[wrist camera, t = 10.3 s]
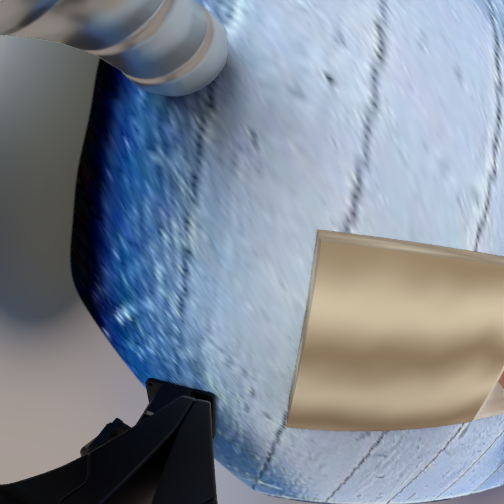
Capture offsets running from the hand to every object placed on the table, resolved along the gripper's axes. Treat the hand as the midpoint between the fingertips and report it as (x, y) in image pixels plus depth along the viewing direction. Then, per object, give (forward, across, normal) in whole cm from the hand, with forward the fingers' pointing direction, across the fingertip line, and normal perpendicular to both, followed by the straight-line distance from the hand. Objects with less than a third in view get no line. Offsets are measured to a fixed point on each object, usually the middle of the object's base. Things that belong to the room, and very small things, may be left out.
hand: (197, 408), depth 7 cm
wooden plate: (+13, -12, +4) cm, 18 cm away
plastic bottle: (+13, +6, -14) cm, 20 cm away
